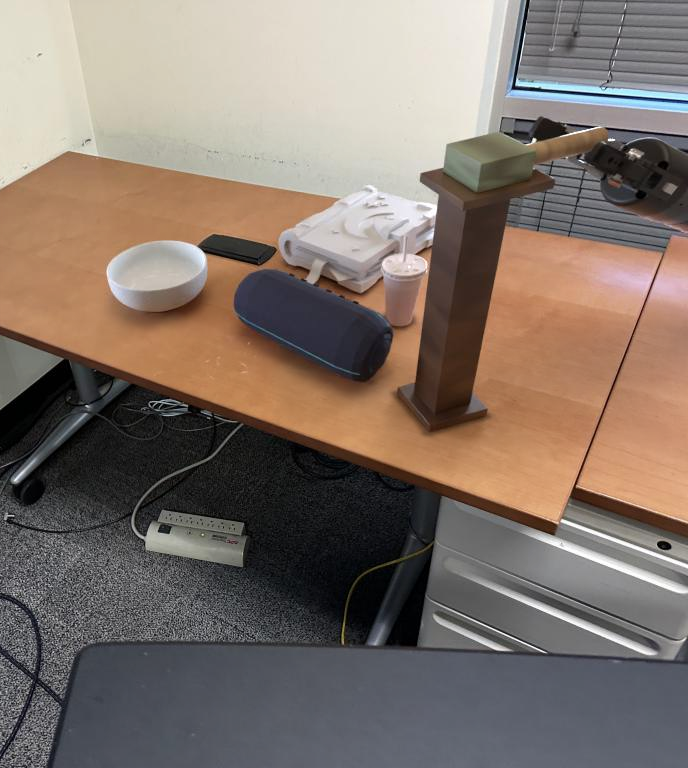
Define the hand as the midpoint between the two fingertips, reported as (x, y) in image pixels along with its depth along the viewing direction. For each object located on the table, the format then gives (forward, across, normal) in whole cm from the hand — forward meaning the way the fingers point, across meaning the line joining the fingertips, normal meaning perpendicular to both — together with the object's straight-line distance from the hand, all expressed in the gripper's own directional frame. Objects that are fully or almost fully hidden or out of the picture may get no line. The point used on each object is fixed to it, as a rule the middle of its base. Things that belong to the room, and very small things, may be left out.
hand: (562, 138), depth 70 cm
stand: (-9, 0, -33) cm, 34 cm away
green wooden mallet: (+2, 0, -3) cm, 4 cm away
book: (-15, +39, -30) cm, 51 cm away
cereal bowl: (+15, +41, -47) cm, 64 cm away
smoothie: (-13, +19, -31) cm, 39 cm away
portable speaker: (0, +18, -39) cm, 42 cm away
